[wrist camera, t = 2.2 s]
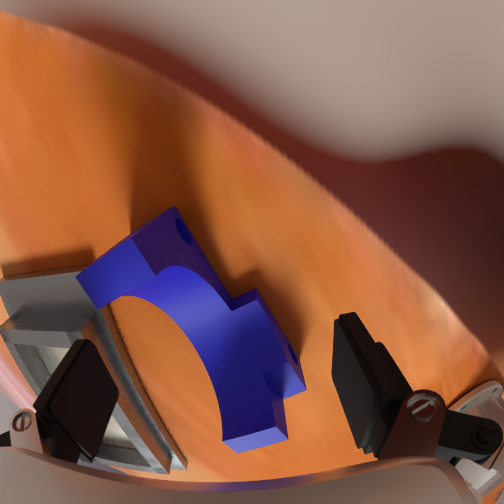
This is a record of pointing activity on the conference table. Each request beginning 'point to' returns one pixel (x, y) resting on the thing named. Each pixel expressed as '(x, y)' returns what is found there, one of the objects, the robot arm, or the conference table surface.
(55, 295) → the grey rectangular tray
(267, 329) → the cable clip
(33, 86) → the conference table surface
